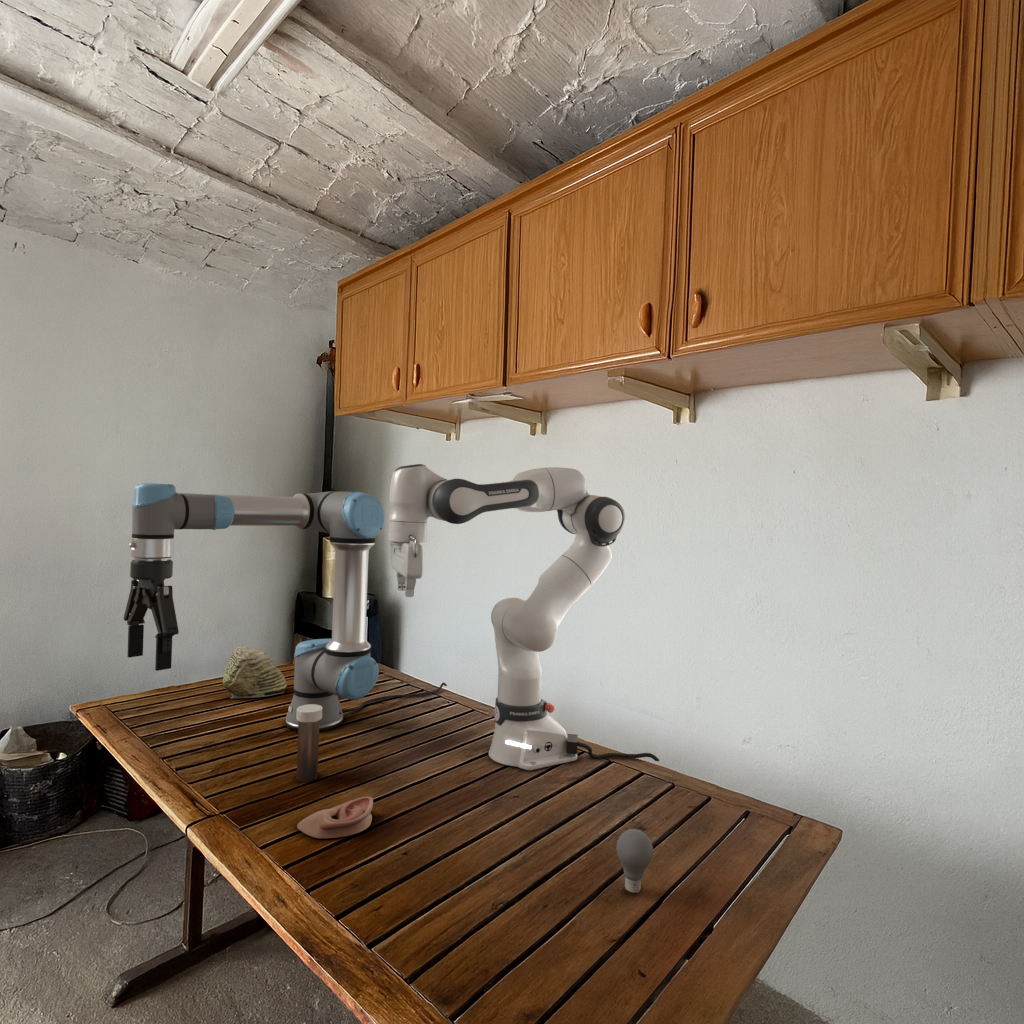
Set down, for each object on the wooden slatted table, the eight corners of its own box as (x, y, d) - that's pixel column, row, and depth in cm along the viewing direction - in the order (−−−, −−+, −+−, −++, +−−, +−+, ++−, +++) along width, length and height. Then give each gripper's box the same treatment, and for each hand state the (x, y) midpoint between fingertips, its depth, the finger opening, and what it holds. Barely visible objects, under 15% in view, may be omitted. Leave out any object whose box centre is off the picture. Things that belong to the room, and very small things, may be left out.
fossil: (218, 695, 195) (220, 647, 195) (278, 685, 208) (279, 640, 207) (228, 703, 189) (230, 653, 188) (289, 692, 201) (290, 645, 201)
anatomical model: (288, 812, 118) (319, 786, 130) (288, 834, 118) (318, 805, 130) (354, 823, 116) (380, 795, 127) (354, 844, 116) (379, 814, 127)
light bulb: (610, 879, 108) (613, 822, 108) (644, 879, 109) (647, 822, 109) (619, 902, 102) (622, 840, 102) (655, 901, 103) (658, 840, 103)
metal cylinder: (317, 780, 141) (320, 712, 141) (296, 783, 140) (299, 714, 139) (317, 772, 145) (319, 706, 145) (296, 774, 144) (298, 707, 144)
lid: (322, 721, 140) (323, 711, 140) (296, 723, 139) (296, 713, 139) (321, 713, 146) (321, 703, 146) (296, 714, 144) (296, 705, 144)
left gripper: (108, 554, 134) (104, 654, 134) (159, 565, 118) (155, 678, 119) (146, 552, 140) (143, 648, 140) (199, 563, 124) (195, 671, 124)
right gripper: (430, 537, 138) (428, 600, 138) (412, 531, 157) (410, 587, 157) (402, 536, 136) (399, 601, 136) (386, 530, 155) (384, 587, 155)
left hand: (148, 662), depth 129 cm, fingers open, 13 cm apart
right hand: (405, 593), depth 147 cm, fingers open, 8 cm apart
